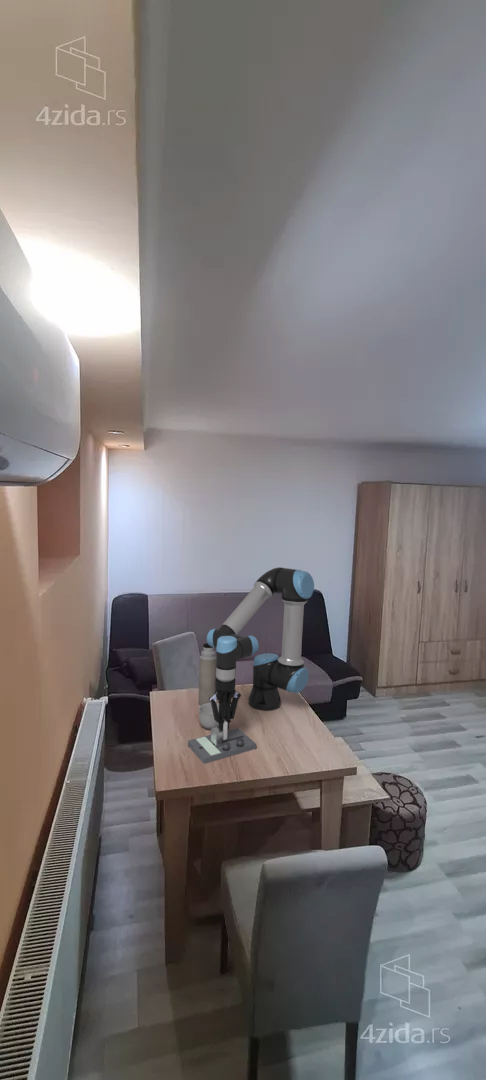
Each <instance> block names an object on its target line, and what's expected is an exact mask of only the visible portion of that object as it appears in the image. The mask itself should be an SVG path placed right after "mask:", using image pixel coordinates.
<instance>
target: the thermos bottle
mask: <svg viewBox="0 0 486 1080" xmlns="http://www.w3.org/2000/svg"><path fill="white" fill-rule="evenodd" d="M202 648H203V650H201V653H200V656H199V669H198V670H199V671H198V672H199V673H198V674H199V676H198V705H199V707H200V706H201V705H203V704H206V703H211V702H210V701H209V698H210V697H211V698H212V697H213V696H214V693H215V691H216V687H215V684H216V678H217V677H216V651H215V648H214V647H211V646H210V645H209V644H208V643H207V642H206V643H203V645H202Z"/></svg>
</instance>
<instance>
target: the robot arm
mask: <svg viewBox="0 0 486 1080" xmlns="http://www.w3.org/2000/svg"><path fill="white" fill-rule="evenodd" d="M314 590H315V582H314V579H313V576H312V575H311V574H310V573H309V572H308V571H305V570H301V569H295V568H286V567H281V566H280V567H274V568H272V569H270V570H268V571H266V572H265V573H263V574H262V575H261V576H260V577H259V578H258V579H257V580H256V581H255V582H254V584H253V588H252V589H251V590H250V591H249V593H248V594H247V595H246V596H245V597H244V598H243V599H242V600H241V602H240V603H239V604H238V605H237V607H236V608H235V609H234V610H233V612H231V613H230V615H228V617H227V619H226V620H225V621H224V622H223V623H222V624H221V625H220V627H219V628H212V629H210V630H209V631H208V633H207V635H206V643H208V644H209V645H210V646H211V647H214V649H216V651H215V652H216V684H215V687H216V691H215V693H214V696H213V697H212V698H211V697H210V698H209V701H210V702H211V705H212V710H213V715H214V720H215V721H216V722H218V723H219V728H218V729H220V730H221V731H222V739H223V740H226V739H227V730H230V723H231V722H232V720H234V719H235V716H236V713H237V712H236V710H237V708H238V703H239V699H240V698H241V696H242V695H241V693H239V691H236V677H237V675H236V674H237V673H236V672H237V670H236V669H237V661H238V660H241V659H244V658H247V657H251V656H252V655H255V654H256V653H257V652H258V651H259V644H260V643H259V641H258V639H257V638H256V636H253V635H246V636H241V635H238V634H239V633H240V632H241V631H242V630H243V628H244V627H245V626H246V625H247V623H248V622H249V621H250V620H251V618H252V617H254V614H256V612H257V611H258V610H259V609H260V607H261V606H262V605H263V604H264V603H265V602H266V601H267V599H270V598H271V597H273V595H275V594H281V596H280V597H281V598H280V599H281V601H282V602H283V603H284V608H283V623H282V627H283V628H282V640H281V641H282V642H281V656H279V655H278V654H276V653H271V652H270V653H269V652H268V653H262V654H261V653H260V654H257V655H256V656H254V658H253V664H252V666H253V667H252V687H251V690H250V693H249V696H248V705H249V706H250V708H253V709H256V710H260V711H275V710H277V709H279V708H281V705H282V704H281V703H282V700H281V695H280V692H279V689H280V690H283V691H286V692H287V693H292V694H299V693H301V692H302V691H303V690H304V689H305V687H307V684H308V682H309V677H310V672H309V670H308V668H306V667H304V666H305V661H304V659H303V658H301V657H302V643H303V642H302V641H303V628H304V627H303V625H304V610H305V609H304V608H305V607H304V606H305V604H307V603H308V601H309V600H308V599H310V598H311V597H312V596H313V593H314V592H315V591H314ZM217 700H218V702H217ZM216 703H219V713H218V708H217V704H216Z"/></svg>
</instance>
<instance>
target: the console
mask: <svg viewBox="0 0 486 1080" xmlns="http://www.w3.org/2000/svg"><path fill="white" fill-rule="evenodd" d="M187 747H189V748H190V750H191V751H192V752H193V753H194V754H195V756H196V757H198V759H199V760H200V761H201V762H202V763H203V765H205V764H208V763H212V762H215V761H219V760H222V759H226V758H229V757H232V756H236V755H239V754H243V753H246V751H247V752H250V751H253V750H257V743H256V742H255V741H254V740H252V739H251V738H250V737H249V736H248V735H246V734H245V732H244V731H242V730H241V729H240V728H239V727H236V728H232V729H228V730H227V739H226V740H223V739H222V745H220V746H215V745H214V744H213V743H212V742H211V734H208V735H204V736H201V737H197V738H193V739H190V740H189V739H188V740H187Z"/></svg>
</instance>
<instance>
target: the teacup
mask: <svg viewBox="0 0 486 1080" xmlns="http://www.w3.org/2000/svg"><path fill="white" fill-rule="evenodd" d="M216 704H217V708H218V713H219V703H218V702H216ZM198 720H199V723H200V725H201V726H202V727H203V728H204V729H206V730H211V728H215V727H217V728H218V729H219V723H218V722H216V721H215V720H214V715H213V710H212V705H211V703H206V704H203V705H201V706H200V705H199V707H198Z"/></svg>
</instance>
